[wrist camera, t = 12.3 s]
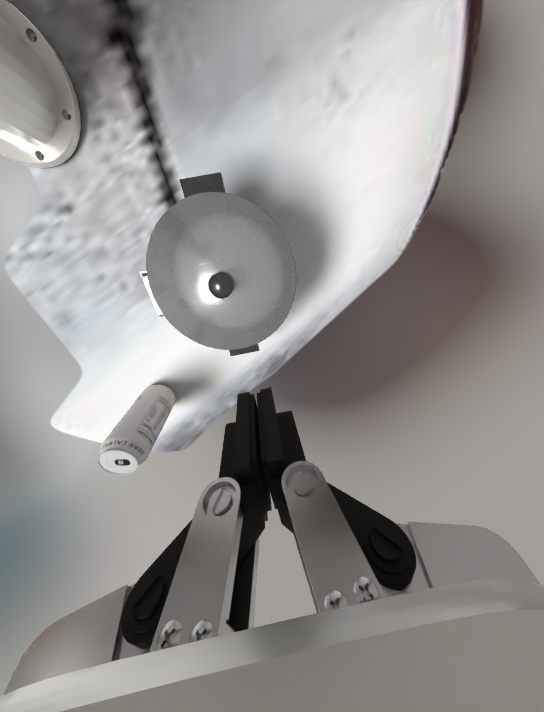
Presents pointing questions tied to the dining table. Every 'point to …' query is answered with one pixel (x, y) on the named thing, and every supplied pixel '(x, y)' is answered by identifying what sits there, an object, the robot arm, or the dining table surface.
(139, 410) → the energy drink can
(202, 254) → the lid
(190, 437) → the dining table surface
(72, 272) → the dining table surface
